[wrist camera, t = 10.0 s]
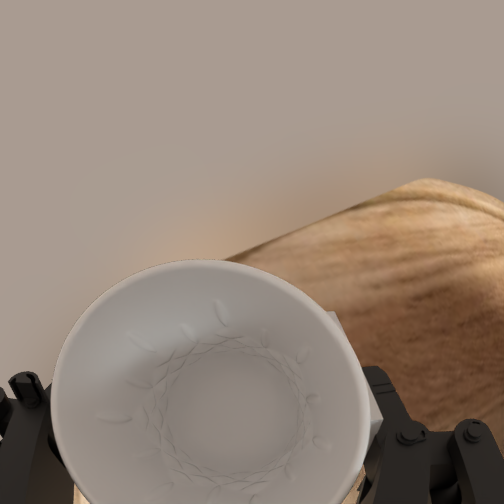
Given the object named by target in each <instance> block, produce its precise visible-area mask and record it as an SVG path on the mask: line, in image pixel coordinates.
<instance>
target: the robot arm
mask: <svg viewBox="0 0 504 504" xmlns="http://www.w3.org/2000/svg"><path fill="white" fill-rule="evenodd" d="M326 313H327V314H328V315H329V316H330V317H331V318H332V319H333V320H334V322H335V323H336V324H337V325H338V327H339V328H340V329H341V331H342V332H343V333H344V335H345V336H346V334H345V332H344V330H343V328H342V326H341V324H340V322H339V320H338V318H337V316H336V314H335V312H334V311H327V312H326ZM346 338H347V336H346ZM347 340H348V339H347ZM362 371H363V374H364V377H365V381H366V384H367V389H368V394H369V401H370V414H371V423H370V436H369V442H368V447H367V452H366V455H365V459H364V462H363V464H364V467H365V471H366V475H365V477H364V479H363V480H362V482H361V484H360V486H359V487H358V489H357V491H360V492H359V496H358V499H357V502H356V504H504V460H503V457H502V455H501V453H500V450H499V448H498V446H497V444H496V442H495V439H494V437H493V435H492V433H491V431H490V429H489V428H488V426H487V425H486V424H485V423H483V422H482V421H480V420H476V419H466V420H464V421H461V422H460V423H459V424H458V425H457V426H456V428H455V429H454V431H449V432H431V431H429V430H428V429H427V428H426V427H425V426H424V425H423V424H421V423H419V422H417V421H412V420H411V418H410V416H409V414H408V413H407V411H406V409H405V407H404V405H403V403H402V401H401V399H400V397H399V395H398V394H397V392H396V390H395V388H394V386H393V384H391V383H392V382H391V381H390V379H389V377H388V375H387V373H385V372H384V371H383V370H382V369H380V368H379V367H378V366H371V367H362ZM8 383H9V385H10V387H11V388H12V390H13V392H14V394H15V396H16V398H17V399H11V398H8V397H7V395H6V394H5V392H4V390H3V388H1V387H0V435H1V436H2V438H3V439H2V440H1V441H0V504H73V499H74V481H73V480H72V478H71V476H70V474H69V473H68V471H67V469H66V467H65V465H64V462H63V460H62V458H61V455H60V453H59V450H58V447H57V443H56V440H55V436H54V431H53V426H52V419H51V386H52V383H51V384H50V385H49V386H48V387H47V388H46V389H45V390H44V389H43V387H42V385H41V382H40V380H39V378H38V376H37V375H36V374H35V373H33V372H29V371H27V372H21V373H18V374H16V375H14V376H13V377H11V379H10V380H9V381H8Z"/></svg>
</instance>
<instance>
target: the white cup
mask: <svg viewBox="0 0 504 504" xmlns="http://www.w3.org/2000/svg"><path fill="white" fill-rule="evenodd" d="M51 419H52V426H53V431H54V436H55V440H56V443H57V447H58V450H59V453H60V455H61V458H62V460H63V462H64V465H65V467H66V469H67V471H68V473H69V474H70V476H71V478H72V480H73V481H74V483H75V484H76V486H77V487H78V489H79V490H80V492H81V493H82V494H83V496H84V497H85V498H86V499H87V501H88V502H89V503H90V504H341V503H342V502H343V500H344V499H345V498H346V496H347V495H348V493H349V492H350V490H351V488H352V487H353V485H354V483H355V481H356V479H357V477H358V475H359V472H360V470H361V467H362V465H363V462H364V459H365V455H366V452H367V447H368V442H369V436H370V423H371V414H370V401H369V394H368V389H367V384H366V381H365V377H364V374H363V371H362V368H361V365H360V363H359V361H358V358H357V356H356V354H355V352H354V350H353V348H352V346H351V345H350V343H349V341H348V340H347V338H346V336H345V335H344V333H343V332H342V331H341V329H340V328H339V327H338V325H337V324H336V323H335V322H334V320H333V319H332V318H331V317H330V316H329V315H328V314H327V313H326V311H325V310H324V309H323V308H321V307H320V306H319V305H318V304H317V303H316V302H315V301H314V300H313V299H311V298H310V297H309V296H308V295H306V294H305V293H304V292H302V291H301V290H299V289H298V288H296V287H295V286H293V285H292V284H290V283H288V282H286V281H285V280H283V279H281V278H279V277H277V276H275V275H272V274H270V273H268V272H265V271H263V270H260V269H257V268H254V267H251V266H248V265H244V264H240V263H235V262H229V261H222V260H210V259H192V260H181V261H174V262H169V263H164V264H160V265H157V266H153V267H150V268H147V269H145V270H142V271H140V272H138V273H135V274H133V275H131V276H129V277H127V278H125V279H123V280H121V281H120V282H118V283H117V284H115V285H114V286H112V287H111V288H109V289H108V290H106V291H105V292H104V293H103V294H101V295H100V296H99V297H98V298H97V299H96V300H95V301H94V302H93V303H92V304H91V305H90V306H89V307H88V308H87V309H86V310H85V311H84V312H83V314H82V315H81V316H80V317H79V319H78V320H77V321H76V323H75V324H74V326H73V327H72V329H71V331H70V332H69V334H68V336H67V338H66V339H65V341H64V344H63V346H62V348H61V351H60V353H59V356H58V359H57V362H56V366H55V369H54V374H53V379H52V386H51Z"/></svg>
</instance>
